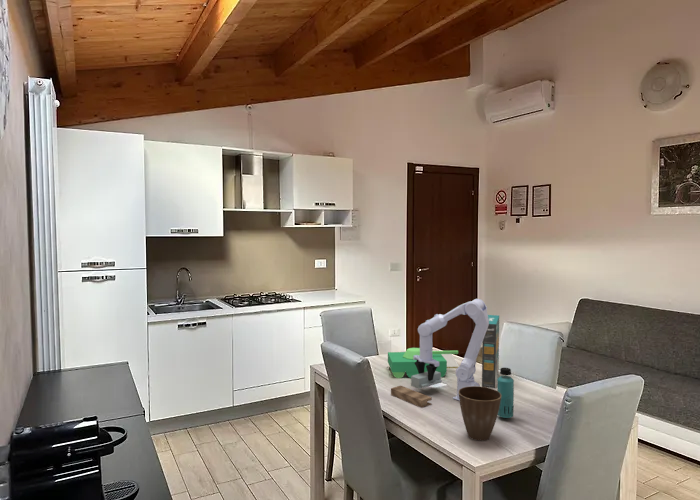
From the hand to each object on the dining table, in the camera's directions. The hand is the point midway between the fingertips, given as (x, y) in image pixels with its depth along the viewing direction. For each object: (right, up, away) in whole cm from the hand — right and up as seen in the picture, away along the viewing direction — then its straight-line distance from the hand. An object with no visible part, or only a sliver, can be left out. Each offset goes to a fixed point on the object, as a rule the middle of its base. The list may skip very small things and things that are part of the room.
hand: (426, 378), depth 224 cm
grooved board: (-8, -7, -9) cm, 14 cm away
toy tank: (+3, -5, +29) cm, 30 cm away
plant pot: (+12, -9, -45) cm, 48 cm away
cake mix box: (+34, -5, +16) cm, 38 cm away
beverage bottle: (+27, -8, -30) cm, 41 cm away
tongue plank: (0, -3, 0) cm, 2 cm away
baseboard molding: (+18, -4, +51) cm, 54 cm away
